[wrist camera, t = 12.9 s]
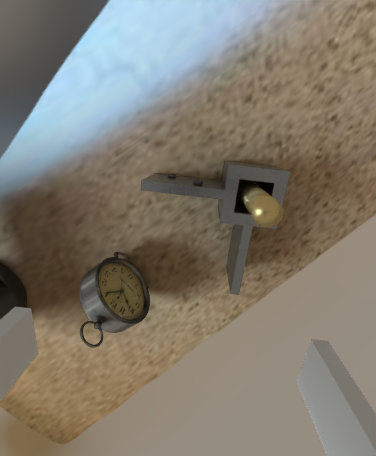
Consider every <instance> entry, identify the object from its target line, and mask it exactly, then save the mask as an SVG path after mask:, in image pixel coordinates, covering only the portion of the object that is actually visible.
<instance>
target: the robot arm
mask: <svg viewBox="0 0 376 456" xmlns="http://www.w3.org/2000/svg"><path fill="white" fill-rule="evenodd" d="M26 303H27V298H26V293H25V290H24V287H23V285H22V283H21V282H20V280H19V279H18V278H17V276H16V275H15V274H14V273H13V272H12V271H11V270H9V269H8V268H7V267H5V266H4V265H2V264H1V263H0V401H1V400H2V399H3V398H4V396H5V395H6V394H7V392H8V391H9V390H10V389H11V387H12V386H13V385H14V383H15V382H16V381H17V380H18V378H19V377H20V376H21V375H22V373H23V372H24V371H25V369H26V368H27V367H28V366H29V364H30V363H31V362H32V361H33V359H34V358H35V357H36V355H37V354H38V348H37V342H36V336H35V329H34V323H33V317H32V311H31V308H26ZM297 384H298V386H299V389H300V391H301V394H302V396H303V399H304V401H305V404H306V406H307V408H308V411H309V413H310V416H311V418H312V421H313V423H314V426H315V428H316V430H317V433H318V435H319V438H320V440H321V443H322V445H323V448H324V450H325V453H326V455H327V456H376V414H375V412H374V410H373V409H372V407H371V406H370V404H369V403H368V401H367V400H366V398H365V396H364V395H363V394H362V392H361V390H360V389H359V387H358V386H357V384H356V383H355V381H354V380H353V378H352V377H351V375H350V374H349V372H348V371H347V369H346V368H345V366H344V365H343V363H342V361H341V360H340V358H339V357H338V355H337V354H336V352H335V351H334V349H333V348H332V346H331V345H330V343H329V342H328V341H324V340H315V339H311V342H310V345H309V348H308V350H307V353H306V356H305V359H304V362H303V366H302V368H301V371H300V374H299V377H298V380H297Z"/></svg>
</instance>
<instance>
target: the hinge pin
mask: <svg viewBox="0 0 376 456" xmlns="http://www.w3.org/2000/svg"><path fill="white" fill-rule="evenodd" d="M237 193H238V195H239V196H240V198H241V200H242V201H243V203H244V204H245V206H246V208H247V209H248V211H249V212H250V214H251V216H252V217H253V219H254V220H255V222H256V223H257V224H258V225H259V226H261V227H264V228H270V227H273V226H276V225H277V224H278V223H279V222H280V221H281V220H282V218H283V215H284V210H283V207H282V205H281V204H280V203H279V202H278V201H277V200H276V199H274V198H273V197H272V196H271V195H269V194H268V193H267V192H265V191H264V190H263V189H262V188H260V187H259V186H258V185H257V184H255V183H254V182H253V181H252V180H243V179H240V180H239V185H238V191H237Z"/></svg>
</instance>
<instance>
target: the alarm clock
mask: <svg viewBox="0 0 376 456" xmlns="http://www.w3.org/2000/svg"><path fill="white" fill-rule="evenodd" d="M117 255H118V253H117V252H115V253H114V256H115V257H111V258H107V259H105V260H103V261H102V262H101V263H100V264H98V265H97V266H95V267H94V268H93V269H91V270H90V271H89V272H87V273H86V275H85V276H84V278H83V280H82V282H81V285H80V301H81V305H82V308H83V310H84V312H85V314H86V316H87V317H88V319H89V320H90V321H87V322H85V323H84V324H83V325H82V326H81V328H80V336H81V339H82V341H83V342H84V343H85V344H86V345H87V346H89V347H98V346H100V344H101V343H102V341H103V332H102V330H104V331H107V332H111V333H117V332H122V331H124V330H126V329H128V328H130V327H131V326H133V325H135V324H137V323H139V322H141V321H142V320H143V319H144V318H145V317H146V315H147V313H148V311H149V306H150V296H149V291H148V288H149V287H148V286H147V285H146V283H145V281H144V279H143V277H142V275H141V274H140V273H139V271H138V270H137V269H136V268H135V267H134V266H133V265H132V264H130V263H129V262H127V261H126V260H123V259H121V258H118V256H117ZM88 323H92V324H94V328H95V329H99V330H100V332H101V340H100V342H99V343H98V344H96V345H92V344H89V343H88V342H87V341H86V340H85V338H84V336H83V327H84V326H85V325H86V324H88Z"/></svg>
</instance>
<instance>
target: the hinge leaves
mask: <svg viewBox="0 0 376 456" xmlns="http://www.w3.org/2000/svg"><path fill="white" fill-rule="evenodd" d="M289 176H290V171H287V170H284V169H281V168H278V167H275V166H269V165H260V164H250V163H241V162H232V161H224V167H223V174H222V181H219V180H210V179H201V178H192V177H183V176H176V175H175V174H168V175H165V174H156V173H155V174H153V175H151V176H149V177H147V178H145V179H143V180H142V181H141V190H144V191H153V192H161V193H170V194H179V195H187V196H196V197H205V198H214V199H219V201H218V213H219V219H220V223H229V224H234V225H233V231H232V237H231V243H230V248H229V254H228V260H227V265H226V268H227V274H228V281H229V287H230V294H236V295H239V292H240V287H241V282H242V277H243V272H244V267H245V263H246V258H247V253H248V248H249V243H250V238H251V233H252V228H253V226H254V227H261V226H259V225H258V224H257V223H256V222H255V220H254V219H253V217H252V216H251V214H250V212H249V211H248V209H247V208H246V206H245V204H244V203H243V201H241V200H236V196H237V191H238V185H239V179H243V180H252V181H259V185H258V186H259V187H260V188H262V189H263V190H264V191H265V192H267V193H268V194H269V195H271V196H272V197H273V198H274V199H276V200H277V201H278V202H279V203H280V204H281V205H283V201H284V197H285V193H286V189H287V184H288V180H289ZM277 226H278V224H277V225H276V226H273V227H270V229H277ZM262 228H264V227H262Z"/></svg>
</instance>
